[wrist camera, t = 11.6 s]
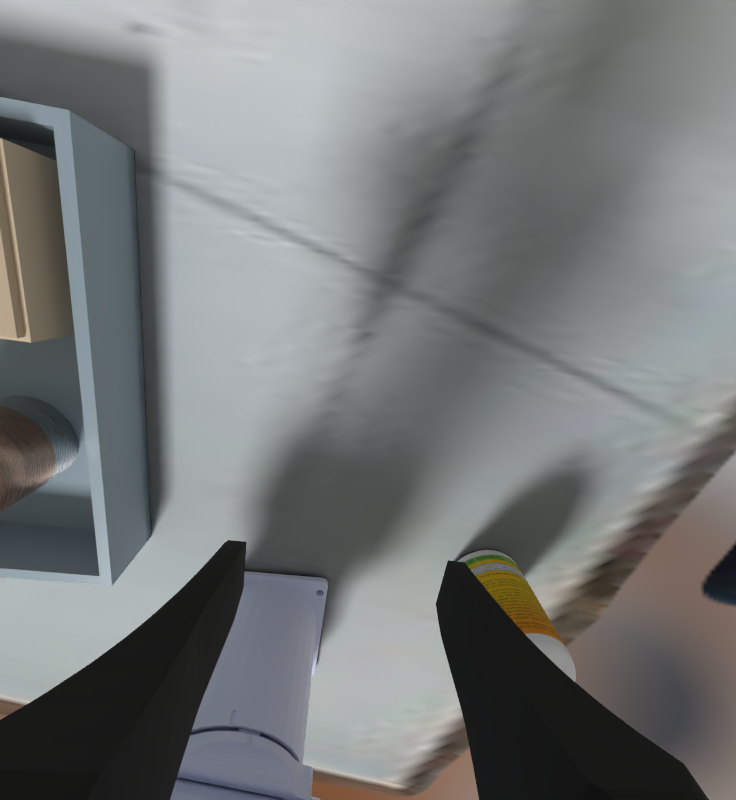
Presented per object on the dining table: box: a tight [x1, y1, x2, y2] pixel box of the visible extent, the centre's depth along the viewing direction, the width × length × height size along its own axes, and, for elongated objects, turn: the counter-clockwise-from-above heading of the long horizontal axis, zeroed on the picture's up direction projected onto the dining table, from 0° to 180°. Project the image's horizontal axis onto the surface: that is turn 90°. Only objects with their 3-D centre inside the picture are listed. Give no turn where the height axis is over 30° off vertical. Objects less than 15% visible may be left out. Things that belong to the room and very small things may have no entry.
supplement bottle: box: [457, 550, 576, 682], centre depth 21 cm, size 5×5×10 cm
